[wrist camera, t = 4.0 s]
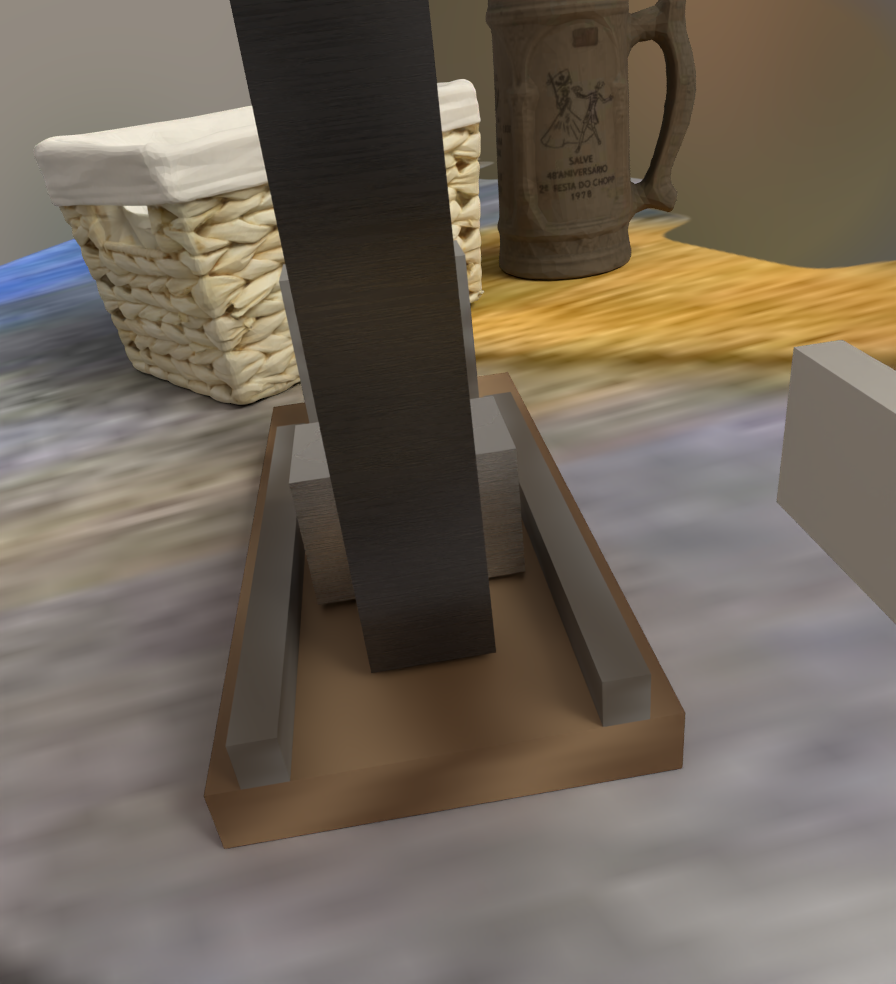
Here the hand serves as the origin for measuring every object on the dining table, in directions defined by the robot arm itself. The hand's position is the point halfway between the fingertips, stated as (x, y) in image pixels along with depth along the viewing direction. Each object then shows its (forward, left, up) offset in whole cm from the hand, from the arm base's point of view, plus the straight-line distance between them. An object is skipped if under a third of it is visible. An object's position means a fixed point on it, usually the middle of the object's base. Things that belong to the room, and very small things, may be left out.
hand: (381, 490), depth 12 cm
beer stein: (-18, -54, -12) cm, 58 cm away
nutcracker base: (0, -15, -11) cm, 19 cm away
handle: (0, -10, -9) cm, 13 cm away
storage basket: (+5, -44, -12) cm, 46 cm away
